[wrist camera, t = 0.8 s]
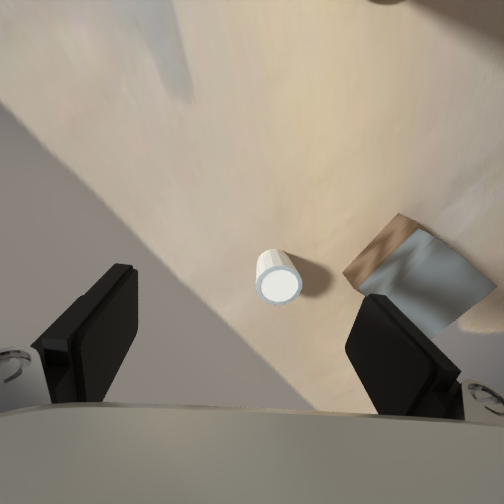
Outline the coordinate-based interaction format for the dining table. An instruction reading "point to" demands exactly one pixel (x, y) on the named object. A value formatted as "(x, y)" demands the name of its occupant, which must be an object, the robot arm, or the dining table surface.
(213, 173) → the dining table surface
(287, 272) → the white grey-rimmed cylinder
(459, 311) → the grey and wood block
